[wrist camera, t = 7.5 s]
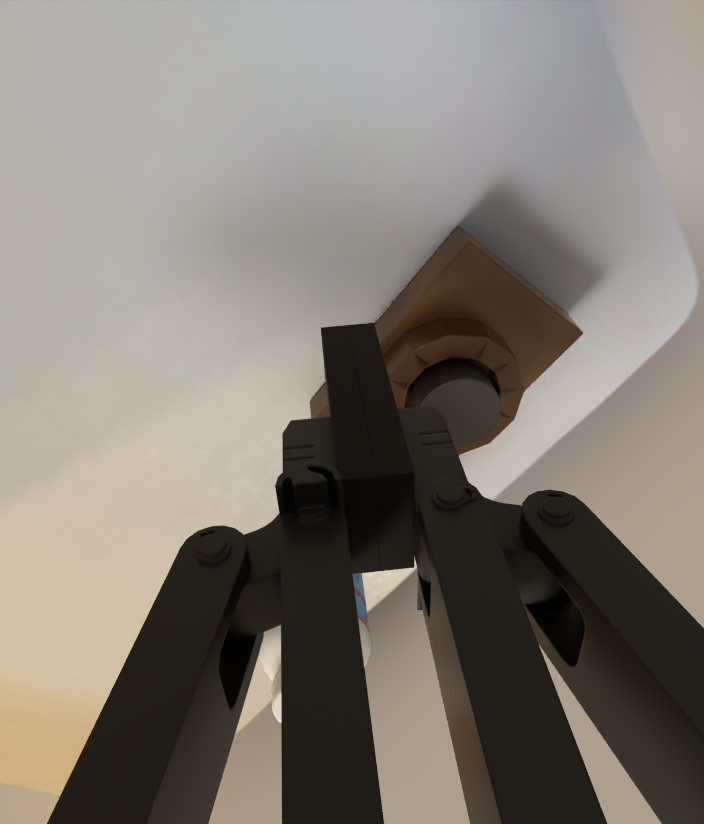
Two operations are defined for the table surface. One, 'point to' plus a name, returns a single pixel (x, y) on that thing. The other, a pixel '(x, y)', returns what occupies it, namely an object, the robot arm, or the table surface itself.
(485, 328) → the block
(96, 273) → the table surface
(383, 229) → the table surface
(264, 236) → the table surface
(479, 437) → the bell button
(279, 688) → the pill bottle
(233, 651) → the robot arm
